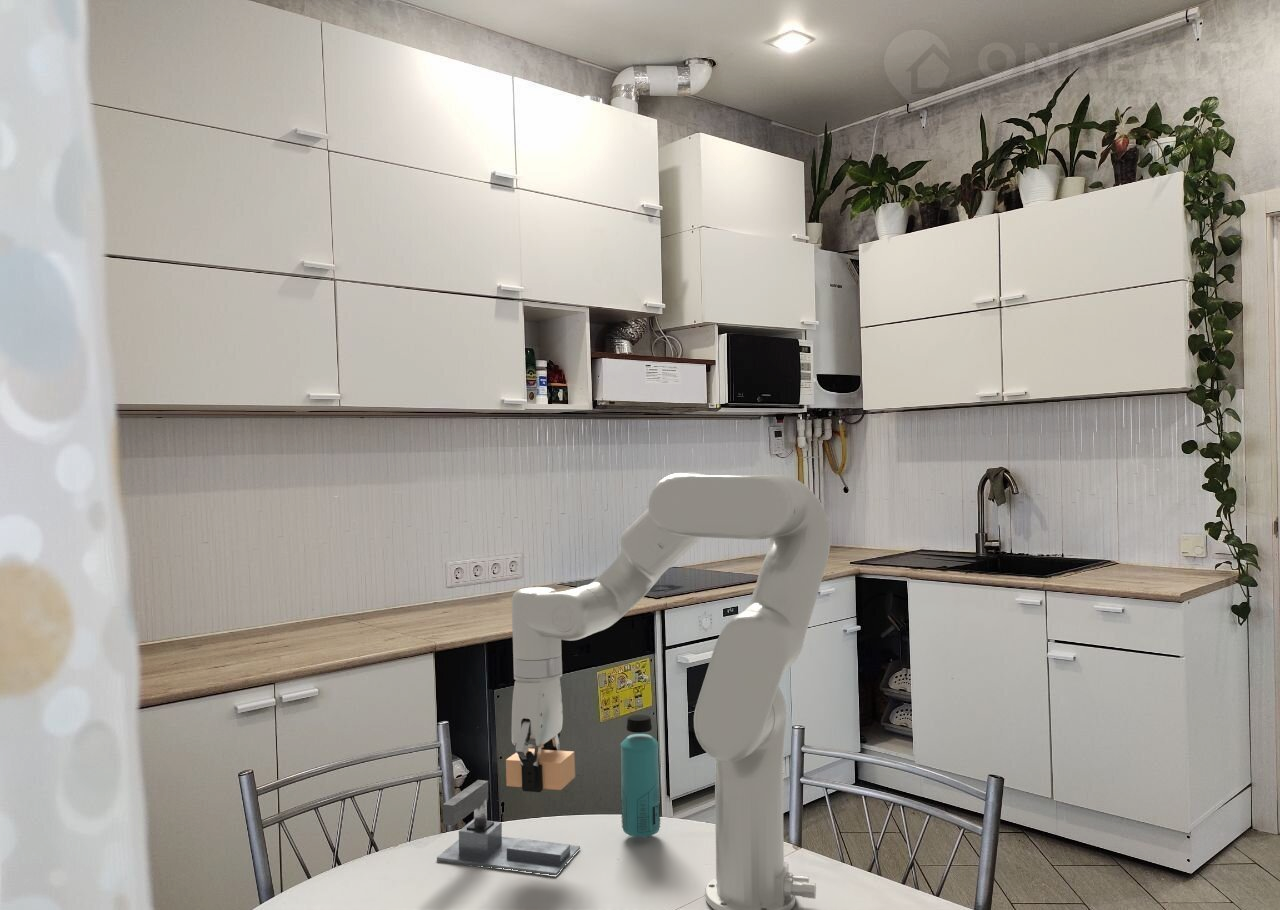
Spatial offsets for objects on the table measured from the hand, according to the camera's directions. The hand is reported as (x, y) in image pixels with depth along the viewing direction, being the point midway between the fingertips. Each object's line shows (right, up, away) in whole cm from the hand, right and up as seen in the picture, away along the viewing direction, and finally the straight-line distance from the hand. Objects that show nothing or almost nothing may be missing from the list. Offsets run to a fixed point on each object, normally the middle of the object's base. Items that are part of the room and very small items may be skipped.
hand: (541, 782), depth 142 cm
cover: (0, 0, 0) cm, 0 cm away
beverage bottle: (+16, -12, +8) cm, 21 cm away
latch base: (-5, -12, +2) cm, 13 cm away
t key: (-11, -8, -1) cm, 14 cm away
